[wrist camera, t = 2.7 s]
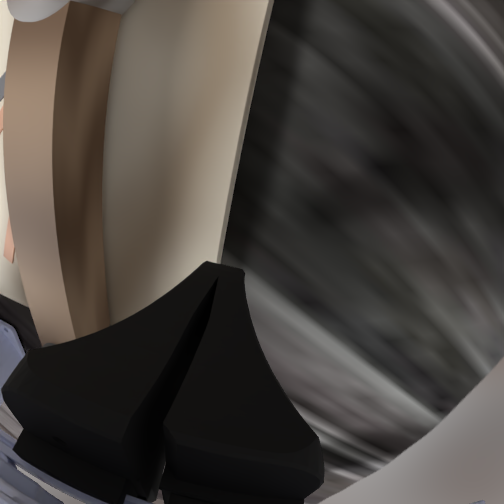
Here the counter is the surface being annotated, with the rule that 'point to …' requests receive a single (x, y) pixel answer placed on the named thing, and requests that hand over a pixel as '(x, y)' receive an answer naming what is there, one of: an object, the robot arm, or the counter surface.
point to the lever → (59, 158)
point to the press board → (163, 143)
